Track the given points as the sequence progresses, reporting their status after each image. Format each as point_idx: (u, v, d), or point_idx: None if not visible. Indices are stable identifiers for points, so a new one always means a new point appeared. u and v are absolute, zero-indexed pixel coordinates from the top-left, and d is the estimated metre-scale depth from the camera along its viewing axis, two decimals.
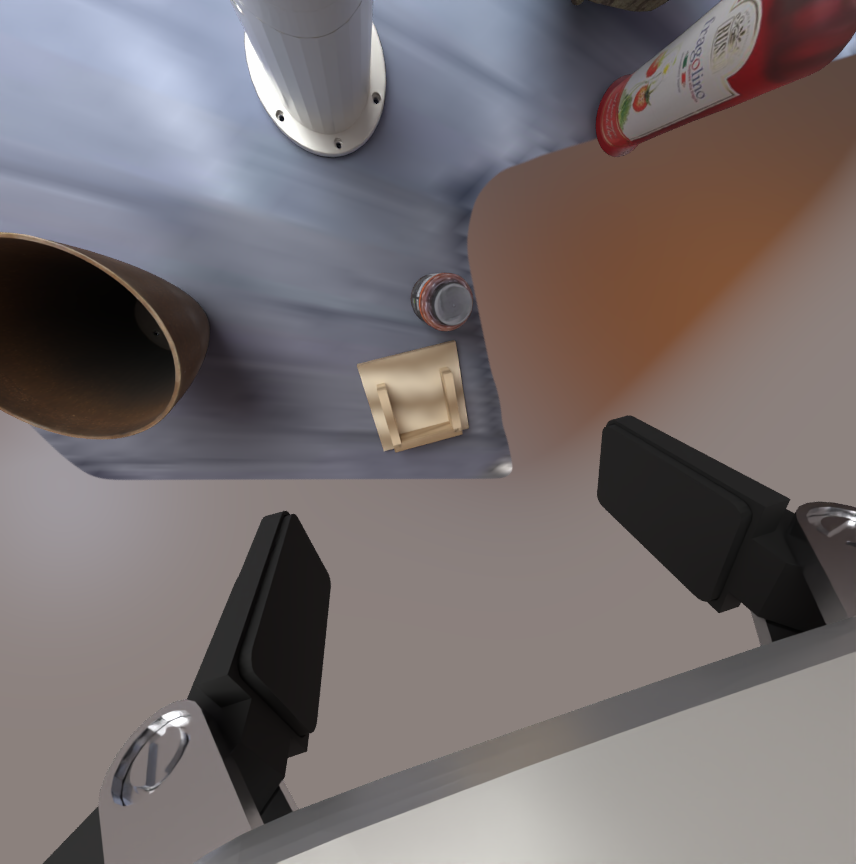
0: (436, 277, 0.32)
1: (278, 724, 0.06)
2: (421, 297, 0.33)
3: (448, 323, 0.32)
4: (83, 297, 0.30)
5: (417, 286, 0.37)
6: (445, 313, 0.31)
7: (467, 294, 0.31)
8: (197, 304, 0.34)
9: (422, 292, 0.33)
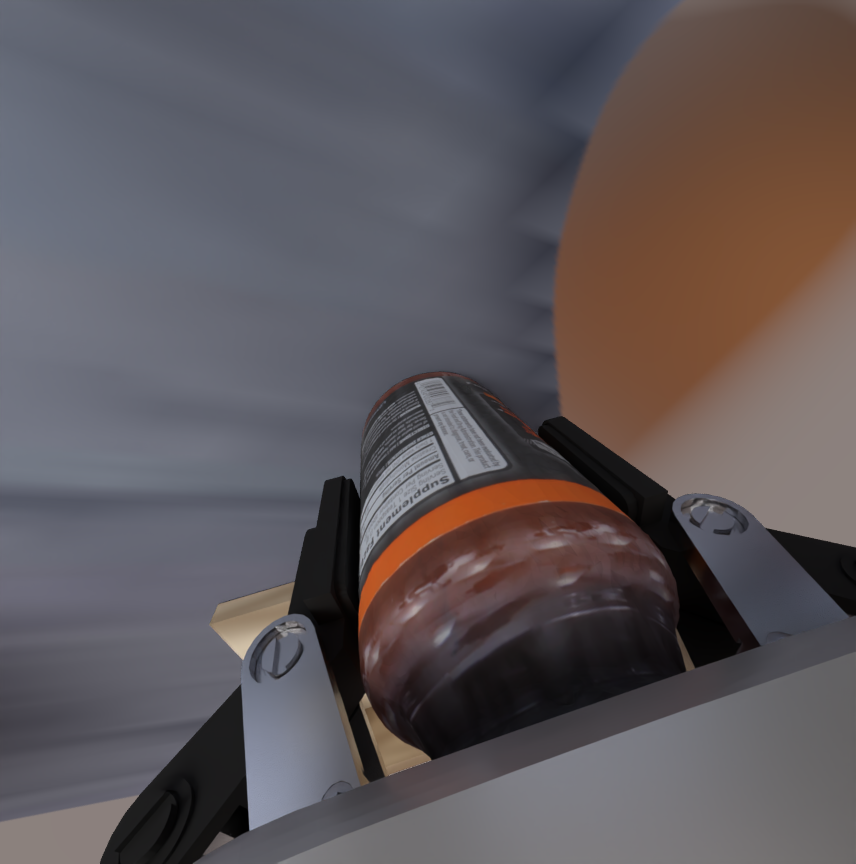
0: (466, 565, 0.04)
1: None
2: (362, 649, 0.05)
3: None
4: None
5: (371, 450, 0.09)
6: None
7: None
8: None
9: (368, 622, 0.05)
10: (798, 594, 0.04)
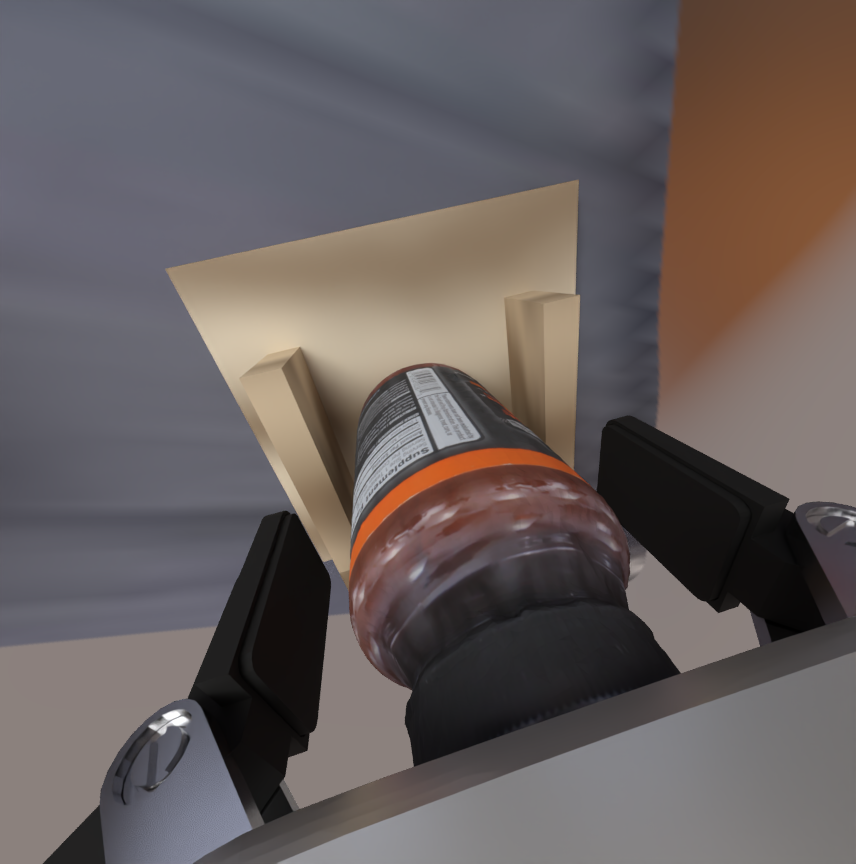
0: (437, 514, 0.05)
1: (278, 723, 0.06)
2: (351, 594, 0.06)
3: None
4: None
5: (364, 433, 0.10)
6: None
7: None
8: None
9: (356, 570, 0.06)
10: None
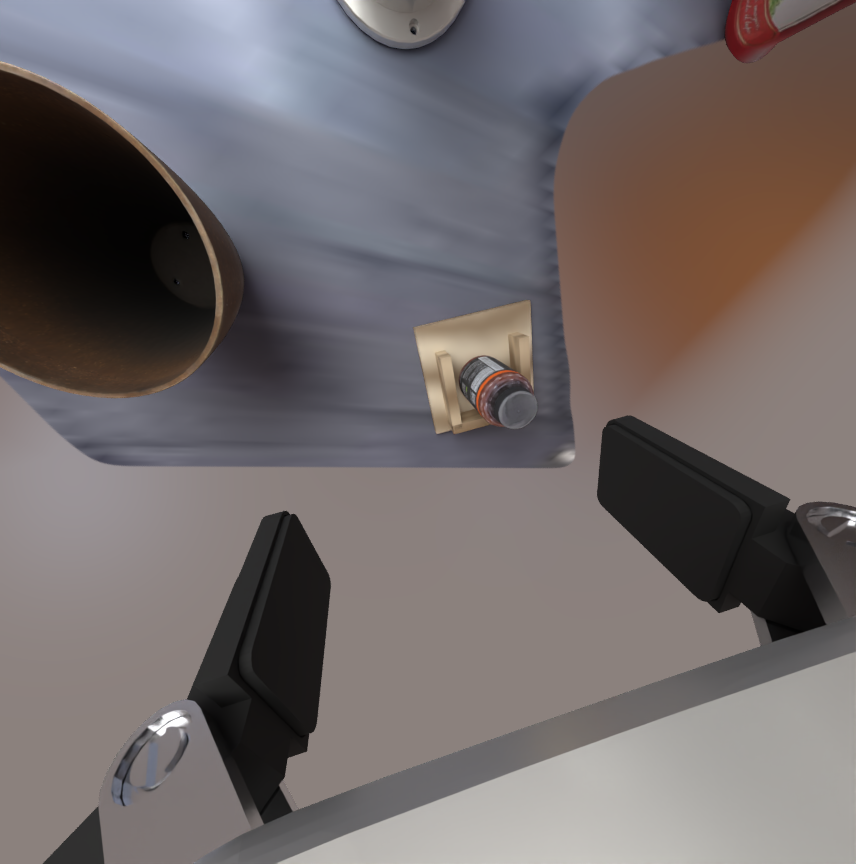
0: (498, 378, 0.30)
1: (278, 724, 0.06)
2: (480, 396, 0.31)
3: (511, 428, 0.30)
4: (87, 219, 0.23)
5: (470, 374, 0.35)
6: (509, 419, 0.30)
7: (533, 400, 0.29)
8: None
9: (481, 391, 0.31)
10: None
